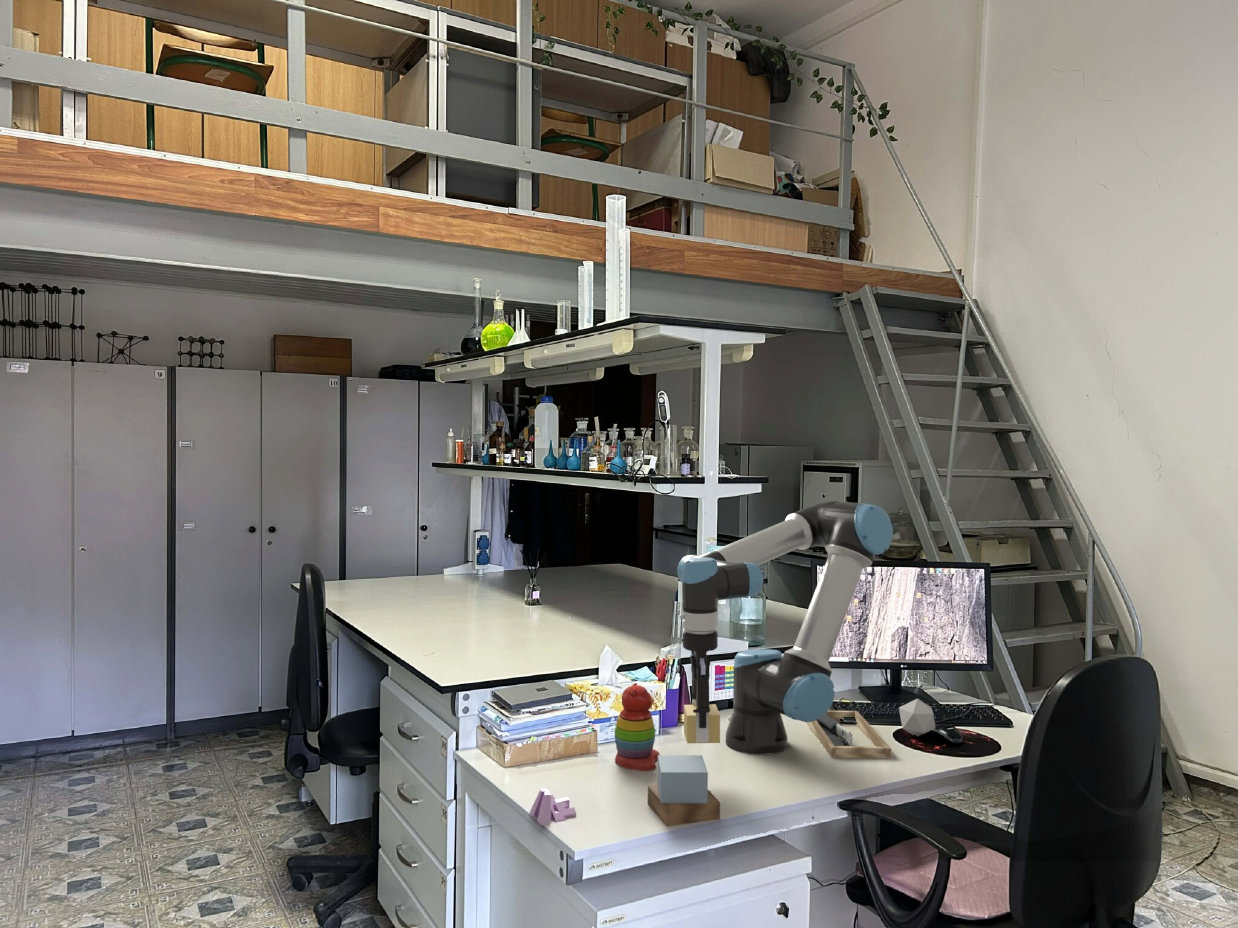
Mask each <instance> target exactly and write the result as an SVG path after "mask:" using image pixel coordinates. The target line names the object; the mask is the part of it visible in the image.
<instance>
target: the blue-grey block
mask: <svg viewBox="0 0 1238 928" xmlns="http://www.w3.org/2000/svg"><path fill="white" fill-rule="evenodd" d="M708 776H709V772H708V770H707V767H706V763H705V760H704V757H703V754H701V755H699V754H697V755H695V754H694V755H693V754H692V755H690V754H683V755H682V754H669V755H668V754H661V755H658V760H657V784H656V785H658V791H659V796H660V802H661V803H707V795H708V790H709V788H708V787H709V786H708V784H709V783H708V781H709V778H708Z"/></svg>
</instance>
